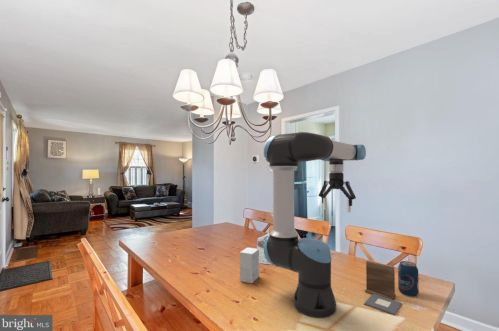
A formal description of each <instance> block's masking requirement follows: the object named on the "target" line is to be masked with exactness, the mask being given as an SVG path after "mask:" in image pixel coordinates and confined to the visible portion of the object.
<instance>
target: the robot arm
mask: <svg viewBox="0 0 499 331" xmlns="http://www.w3.org/2000/svg"><path fill="white" fill-rule="evenodd" d="M263 147H264V148H263V156H264V158H265V161H266V162H267V163H269V168H270V169H271V171H272V172H273V174H272V177H273V178H272V181H273V182H272V186H273V188H272V191H273V192H272V193H273V194H272V197H273V198H272V200H273V201H272V202H273V203H272V209H273V210H272V215H273V216H272V217H273V220H272V224H273V225H272V227H273V228H272V230H270V231H269V235H268V236H267V237H266V238H265V242H264V243H263V254H264V257H265V259H266V261H267V262H268V263H269V264H271V265H273V266H275V267H278V268H282V269H285V270H288V271H292V272H294V273H296V274H298V281H297V286H296V289H295V292H294V295H293V306H294V308H295V309H296V310H297V311H298V312H299V313H301V314H303V315H306V316H309V317H313V318H327V317H331V316H334V315H335V313H336V312H337V300H336V298H335V295H334V292H333V289H332V255H331V254H332V252H331V248H330V246H329V245H328V244H327V243H326V241H325V242H324V241H323V240H320V239H317V238H313V237H312V238H310V237H302V238H300V239H299V233H298V232H297V231H296V230H295V171H296V170H297V168H298V167H299V163H305V162H312V161H322V162H329V163H328V171H329V174H328V178H329V179H328V180H324V181H323V185H322V186H321V189H320V192H319V194H318V197H320V198H321V204H322V206H323V207H322V210H323V211H326V210H327V206H328V205H327V204H328V201H327V195H329V194H330V192H332V190H340V191H341V192H342V193H343V194H344V196H345V197H346V198H347V200H346V212H347V213H351V212H352V211H351V207H352V206H353V200H355V199H357V197H356V194H355V193H354V191H353V189H352V187H351V185H350V181H344V161H364V159H366V155H367V149H366V147H365V145H364V144H358V143H357V144H351V143H345V142H342V141H337V140H332V139H331V138H330V137H328V136H326V135H322V134H319V133H315V132H314V133H313V132H307V131H306V132H305V131H300V132H299V131H298V132H292V133H291V132H290V133H284V134H283V133H282V134H277V135H272V136H270V137H269V138H267V140H266V141H265V144H264V146H263ZM328 185H329V186H328ZM344 185H345V186H344ZM326 188H327V189H326ZM346 189H347V190H346Z"/></svg>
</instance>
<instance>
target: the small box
mask: <svg viewBox="0 0 499 331" xmlns="http://www.w3.org/2000/svg"><path fill="white" fill-rule="evenodd" d="M259 257H260V249H259V248H254V247H245V248H244V249H243V250H240V252H239V281H240V282H244V283H248V284H254V282H255V281H257V279H258V278H259V277H260V268H259V266H260V258H259Z"/></svg>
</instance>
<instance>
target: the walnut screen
mask: <svg viewBox="0 0 499 331" xmlns="http://www.w3.org/2000/svg"><path fill="white" fill-rule="evenodd" d="M365 262H366V263H365V265H366V266H365V267H366V268H365V272H366V276H365V277H366V278H365V279H366V280H365V281H366V283H365V284H366V289H365V290H364V293H365V294H369V295H370V296H371V295H372V294H376V295H379V296H382V297H385V298H389V299H392V300H395V299H396V297H397V294H396V292H395V291H396V290H395V288H396V286H395V285H396V283H395V282H396V281H395V280H396V279H395V266H390V265H387V264H382V263H379V262H375V261H374V262H373V261H370V260H367V261H365Z"/></svg>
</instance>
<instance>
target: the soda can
mask: <svg viewBox="0 0 499 331" xmlns="http://www.w3.org/2000/svg"><path fill="white" fill-rule="evenodd" d="M397 272H398V274H397V277H398V279H397V280H398V281H397V282H398V284H397V285H398V286H397V287H398V290H399V293H400V294H402V295H404V296H406V297H411V298H416V297H417V296H418V294H419V292H420V291H419V288H420V287H419V283H420V282H419V269H418V266H417V264H416V263H414V262H410V261H407V260H406V261H405V260H401V261H399V264H398V265H397Z"/></svg>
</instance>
